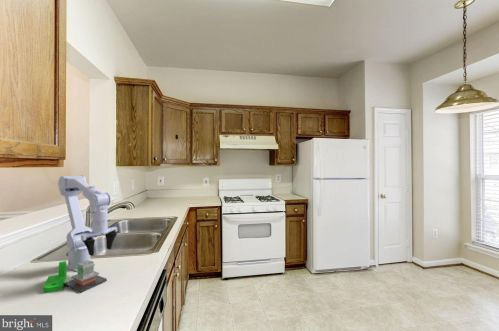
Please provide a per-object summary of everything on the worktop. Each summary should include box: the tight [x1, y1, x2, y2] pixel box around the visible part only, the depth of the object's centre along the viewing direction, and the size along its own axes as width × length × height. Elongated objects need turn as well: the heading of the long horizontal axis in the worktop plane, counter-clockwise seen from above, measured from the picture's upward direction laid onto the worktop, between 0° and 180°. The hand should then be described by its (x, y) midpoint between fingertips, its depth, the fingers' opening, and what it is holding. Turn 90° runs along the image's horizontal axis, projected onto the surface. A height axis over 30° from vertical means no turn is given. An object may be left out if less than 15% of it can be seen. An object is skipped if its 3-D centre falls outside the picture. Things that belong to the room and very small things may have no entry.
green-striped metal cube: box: [76, 260, 95, 278], centre depth 97 cm, size 4×4×5 cm
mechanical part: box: [43, 260, 68, 294], centre depth 95 cm, size 12×6×8 cm, turn 31°
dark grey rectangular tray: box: [63, 270, 108, 294], centre depth 97 cm, size 12×10×4 cm
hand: (100, 251), depth 103 cm, fingers open, 7 cm apart
